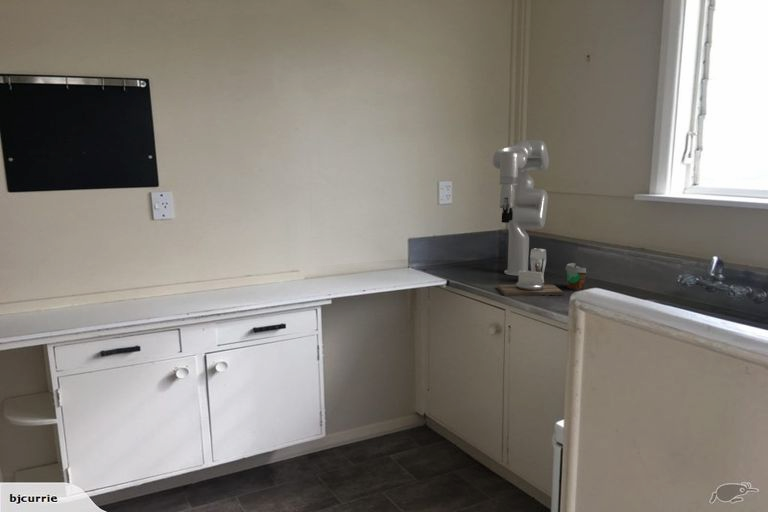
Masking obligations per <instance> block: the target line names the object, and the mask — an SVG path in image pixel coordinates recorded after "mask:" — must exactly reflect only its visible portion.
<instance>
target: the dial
mask: <svg viewBox="0 0 768 512" xmlns="http://www.w3.org/2000/svg"><path fill="white" fill-rule="evenodd" d="M544 284H545V283H542V272H533V271H531V270H529V271H519V276H518V280H517V282H516V287H517V288H519V289H523V290H542V289H543V286H544Z"/></svg>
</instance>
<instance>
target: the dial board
mask: <svg viewBox="0 0 768 512" xmlns="http://www.w3.org/2000/svg"><path fill="white" fill-rule="evenodd" d="M543 284H544V286H543V289H542V290H523V289H519V288H517V287H516V284H508V283H507V284H503V283H502V284H497V287H496V288H497V289H498V290H499V291H500V292H501V294H503V296H505V297H509V296H510V297H513V296H514V297H515V296H516V297H517V296H518V295H565V294H564V292H565V291H563V290H561V289H560V288H559V287H557V286H556V285H555V284H548V283H547V284H545V283H543ZM518 297H519V296H518Z"/></svg>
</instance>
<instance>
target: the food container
mask: <svg viewBox="0 0 768 512" xmlns="http://www.w3.org/2000/svg"><path fill="white" fill-rule="evenodd" d="M565 271H566V286H567V289H568V288H569V289H568V290H571V289H574V290H573V291H578V290H577V289H579V290H583V289H585V282H586V274H587V268H586V267H581V266H578V265H576V262H574V263H573V262H571V263H567V265H566V266H565Z"/></svg>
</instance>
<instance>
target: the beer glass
mask: <svg viewBox="0 0 768 512" xmlns="http://www.w3.org/2000/svg"><path fill="white" fill-rule="evenodd" d="M529 264H530V271H533V272H542V283H543V284H545V279H544V278H545V277H544V276H545V274H544V273H545V269H546V265H547V249H546V248H531V249H530V256H529Z"/></svg>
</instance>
